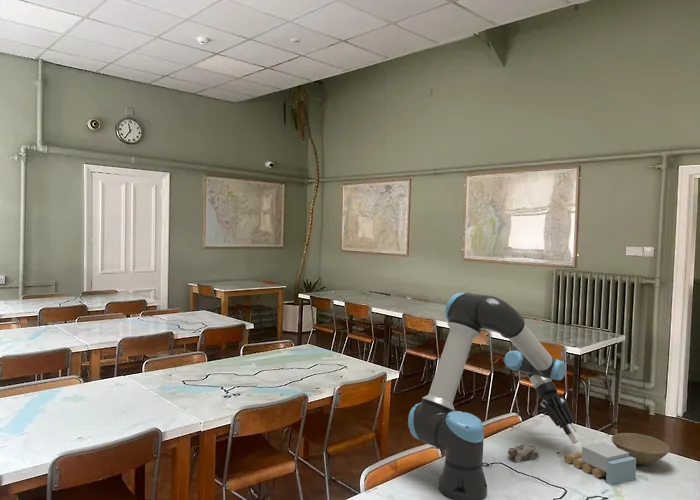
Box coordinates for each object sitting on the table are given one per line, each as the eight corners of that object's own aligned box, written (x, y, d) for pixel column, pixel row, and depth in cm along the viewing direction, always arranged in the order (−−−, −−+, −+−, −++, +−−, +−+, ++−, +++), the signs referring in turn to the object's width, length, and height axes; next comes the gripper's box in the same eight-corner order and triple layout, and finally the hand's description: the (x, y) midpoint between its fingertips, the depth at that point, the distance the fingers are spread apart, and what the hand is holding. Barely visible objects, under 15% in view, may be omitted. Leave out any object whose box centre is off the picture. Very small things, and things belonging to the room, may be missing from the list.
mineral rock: (531, 450, 196) (532, 439, 196) (546, 459, 189) (546, 447, 189) (499, 455, 192) (499, 443, 191) (512, 464, 184) (513, 451, 184)
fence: (611, 485, 170) (612, 464, 169) (606, 482, 171) (606, 461, 171) (635, 479, 175) (636, 458, 175) (629, 476, 176) (630, 456, 176)
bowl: (610, 466, 185) (611, 444, 184) (611, 448, 201) (611, 428, 201) (670, 478, 176) (671, 455, 176) (666, 459, 192) (667, 438, 192)
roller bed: (599, 479, 174) (599, 470, 174) (563, 461, 187) (564, 453, 187) (623, 473, 179) (623, 464, 179) (586, 456, 192) (587, 448, 192)
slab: (606, 472, 172) (607, 457, 172) (581, 460, 181) (582, 446, 181) (628, 467, 177) (629, 452, 176) (603, 455, 186) (603, 442, 185)
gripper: (550, 388, 210) (582, 444, 195) (526, 391, 204) (557, 449, 189) (561, 379, 205) (595, 435, 190) (536, 381, 199) (569, 439, 184)
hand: (576, 442), depth 190 cm, fingers closed
